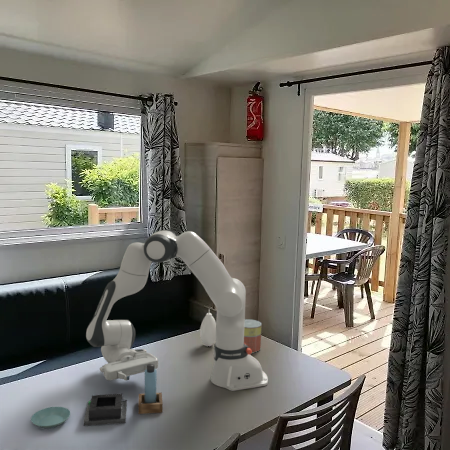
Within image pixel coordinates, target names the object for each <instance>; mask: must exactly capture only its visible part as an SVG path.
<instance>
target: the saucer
mask: <svg viewBox="0 0 450 450" xmlns="http://www.w3.org/2000/svg"><path fill="white" fill-rule="evenodd" d="M70 416H71V410H70V409H69V408H67V407H64V406H49V407H46V408H42V409H39V410H37V411H35V412H34V413H33V414H32V415H31V417H30V422H31V423H32V424H33V425H35V426H37V427H39V428H41V429H42V428H43V429H51V428H55V427H58V426H61V424H64V423H65V422H66V421H67V419H69V418H70Z"/></svg>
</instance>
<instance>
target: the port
mask: <svg viewBox="0 0 450 450" xmlns="http://www.w3.org/2000/svg"><path fill="white" fill-rule="evenodd" d="M90 399H91V400H89V401H88V402H87V403H86V404H87V405H86V409H85V414H84V418H83V427H86V426H87V427H88V426H91V427H92V426H103V425H104V426H105V425H118V424H126V422H127V408H128V407H127V405H128V400H127V399H124V400H123V393H110V394H109V393H106V394H94V395H93V394H92V395H91V398H90Z"/></svg>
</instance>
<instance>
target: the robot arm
mask: <svg viewBox="0 0 450 450" xmlns="http://www.w3.org/2000/svg"><path fill="white" fill-rule="evenodd" d="M176 257H178V258H179V259H181V260H182V261H183V263H185V265H186V267H187V268H188V269H189V270H190V271H191V273H192V274H193V275H194V276H195V278H196V279H197V280H198V281H199V282H200V284H201V285H202V287H203V289H204V290H205V293H207V295H208V296H209V298H210V300H211V301H212V302H213V304H214V305H215V307H216V320H215V322H216V340H215V342H214V344H213V346H214V347H213V359H214V360H213V367H212V372H211V375H210V378H209V380H210V382H211V383H212V384H214V385H215V386H218V387H221V388H223V389H227V390H229V391H233V392H235V391H241V390H246V389H253V388H258V387H264V386H265V387H266V386H267V385H268V384H269V377H268V375H267V373H266V372H265V371H263V368H262V365H261V363H260V361H259V360H258V359H257V358H255V357H254V356H252V355H251V354H253V353H252V350H251V349H250V348H249V347H248V346H247V345H246V344H245V343H244V324H245V319H246V300H247V299H246V298H247V295H246V294H247V289H246V287H245V285H244V283H243V282H242V281H241V280H240V279H238V278H236V277H235V278H234V277H232V276H231V274H229V271H228V270H227V268H226V267H225V265H224V263H223V262H222V260H220V258H219V257H218V256H217V254H216V253H214V251H213V250H212V248H211V247H210V245H208V244H207V243H206V241H204V239H202V238H201V237H200V236H199V235H198V234H197V233H196V232H194V231H192V230H188V231H184V232H182V233H181V234H179V235H178V234H176V233H175V232H174V231H173V230H171V229H162V230H159V231H156V232H153V234H151V235H150V236H148V237H147V238H146V240H145V241H144V243H143V242H137V241H135V242H132V243H130V244H129V245H128V246H127V247H126V250H125V252H124V254H123V258H122V260H121V263H120V268H119V271H118V272H117V275H116V276H115V278H113V280H111V281H109V282H108V283H107V284H106V286H105V288H104V291H103V293H102V295H101V297H100V300H99V302H98V305H97V307H96V309H95V312H94V314H93V317H92V319H91V321H90V322H89V324H88V325H87V328H86V332H85V338H86V341H87V342H88V343H89V344H90V346H92V347H94V348H98V347H101V348H100V352H101V354H102V356H103V359H104V360H105V362H107V363H105V364H104V365H102V366H101V367H99V372H101V373H103V376H104V378H105V380H106V381H108V382H109V381H115V380H117V379H118V380H124V381H125V382H126V381H130V376H134V375H137V374H138V375H139V374H142V373H145V370H146V369H147V365H148V364H154V365H155V369H156V370H157V369H159V359H158V358H157V357H156V356H155V355H154V354H152V353H150V352H147V349H145V348H140V349H135V348H134V349H133V348H132V347H133V345H134V342H135V339H136V328H135V327H134V325H133V323H132V322H131V321H130V320H129V319H113V320H111V319H108V317H109V316H110V313H111V310H112V308H113V306H114V304H115V303H116V302H117V301H118V300H121V299H122V298H124V297H128V296H131V295H134V294H136V293H138V292H140V291H141V290H143V289H144V287H145V285H146V284H147V282H148V278H149V273H150V269H151V268H150V267H151V265H152V264H153V263H156V264H157V263H164V262H166V261H169V260H172V259H174V258H176ZM107 319H108V320H107Z"/></svg>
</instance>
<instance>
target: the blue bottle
mask: <svg viewBox="0 0 450 450" xmlns="http://www.w3.org/2000/svg"><path fill="white" fill-rule="evenodd" d="M157 379H158V378H157V369H155V365H154V364H148V365H147V369H146V370H145V372H144V393H145V400H144V403H143V404H146V403H157V402H156V393H157Z"/></svg>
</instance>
